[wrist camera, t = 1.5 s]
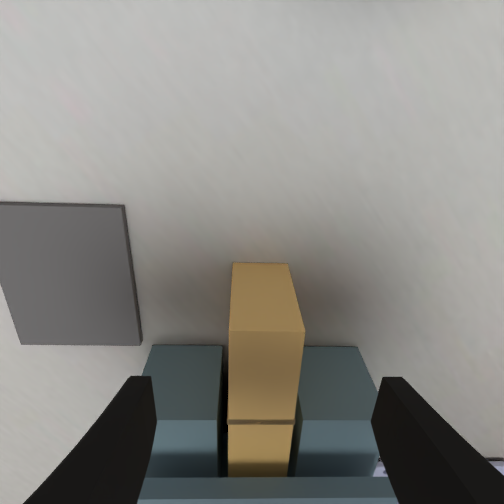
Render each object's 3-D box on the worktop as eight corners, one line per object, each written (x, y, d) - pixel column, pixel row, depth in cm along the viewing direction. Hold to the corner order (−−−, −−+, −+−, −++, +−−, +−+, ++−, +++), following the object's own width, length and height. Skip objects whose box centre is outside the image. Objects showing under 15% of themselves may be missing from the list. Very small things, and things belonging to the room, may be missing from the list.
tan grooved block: (288, 263, 16) (306, 331, 11) (276, 398, 20) (286, 489, 15) (231, 262, 16) (227, 330, 11) (230, 398, 20) (226, 489, 15)
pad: (124, 205, 14) (121, 208, 14) (142, 340, 18) (140, 345, 17) (-20, 201, 14) (-27, 204, 14) (25, 339, 17) (21, 344, 17)
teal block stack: (357, 346, 18) (410, 466, 12) (336, 443, 22) (370, 572, 16) (152, 344, 18) (109, 467, 12) (164, 443, 21) (135, 575, 15)
